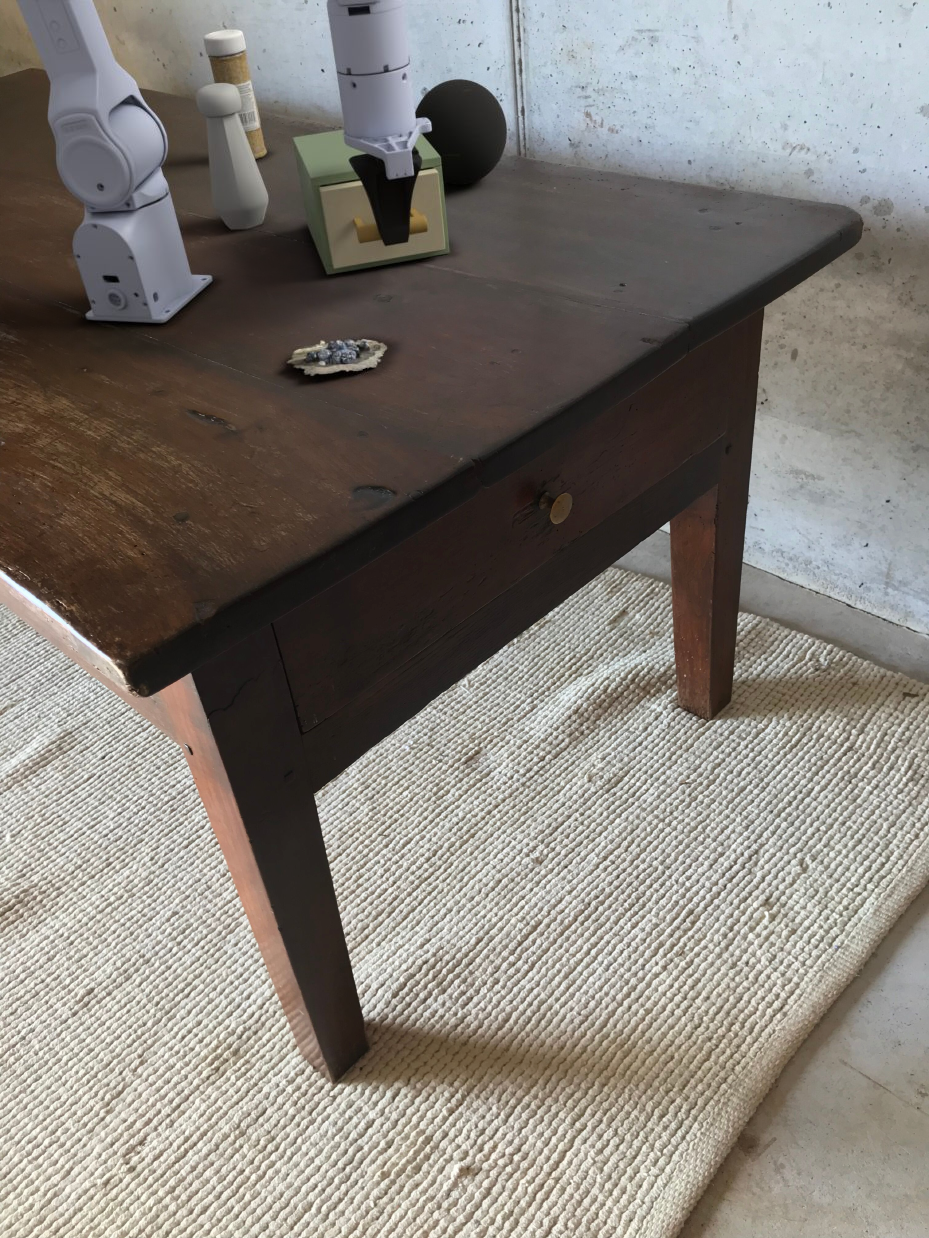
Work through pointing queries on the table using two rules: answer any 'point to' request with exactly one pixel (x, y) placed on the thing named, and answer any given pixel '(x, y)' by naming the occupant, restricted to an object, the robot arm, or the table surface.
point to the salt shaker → (231, 159)
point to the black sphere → (464, 129)
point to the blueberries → (338, 356)
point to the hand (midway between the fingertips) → (395, 242)
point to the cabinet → (329, 164)
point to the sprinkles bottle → (236, 80)
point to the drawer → (357, 228)
